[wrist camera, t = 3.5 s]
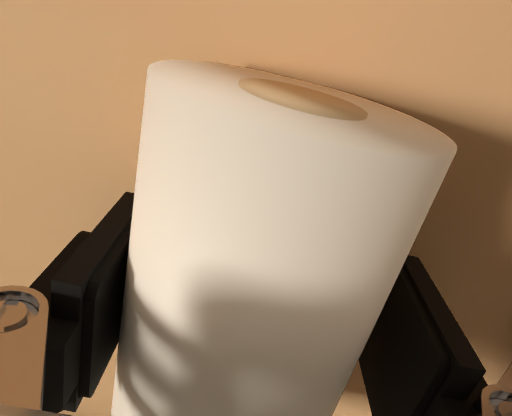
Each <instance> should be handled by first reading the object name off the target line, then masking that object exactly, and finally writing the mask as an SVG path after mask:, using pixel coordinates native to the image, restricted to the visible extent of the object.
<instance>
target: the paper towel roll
mask: <svg viewBox="0 0 512 416" xmlns="http://www.w3.org/2000/svg"><path fill="white" fill-rule="evenodd" d="M457 148H458V147H457V145H456V143H455V142H454V141H453V140H452V139H451V138H450V137H448V136H447V135H446V134H444V133H443V132H441V131H439V130H438V129H436V128H434V127H432V126H430V125H429V124H427V123H425V122H422V121H420V120H418V119H416V118H414V117H412V116H409V115H407V114H405V113H402V112H400V111H397V110H395V109H392V108H390V107H387V106H384V105H382V104H379V103H376V102H373V101H370V100H368V99H365V98H362V97H359V96H356V95H353V94H349V93H346V92H343V91H340V90H336V89H333V88H330V87H326V86H322V85H318V84H314V83H310V82H306V81H302V80H298V79H294V78H290V77H286V76H282V75H278V74H274V73H270V72H266V71H261V70H256V69H251V68H246V67H240V66H234V65H228V64H222V63H214V62H206V61H195V60H163V61H157V62H154V63H152V64H150V65H149V67H148V70H147V80H146V89H145V99H144V108H143V117H142V127H141V136H140V146H139V155H138V165H137V174H136V184H135V193H134V203H133V212H132V221H131V231H130V240H129V250H128V259H127V269H126V278H125V288H124V297H123V307H122V316H121V326H120V335H119V344H118V354H117V363H116V373H115V382H114V392H113V401H112V411H111V416H332V414H333V412H334V410H335V408H336V406H337V404H338V402H339V400H340V398H341V395H342V393H343V391H344V389H345V387H346V385H347V383H348V381H349V379H350V376H351V374H352V372H353V370H354V368H355V366H356V364H357V362H358V359H359V357H360V355H361V353H362V351H363V349H364V347H365V345H366V343H367V340H368V338H369V336H370V334H371V332H372V330H373V328H374V326H375V324H376V321H377V319H378V317H379V315H380V313H381V311H382V309H383V307H384V305H385V302H386V300H387V298H388V296H389V294H390V292H391V290H392V288H393V285H394V283H395V281H396V279H397V277H398V275H399V273H400V271H401V269H402V266H403V264H404V262H405V260H406V258H407V256H408V254H409V252H410V250H411V247H412V245H413V243H414V241H415V239H416V237H417V235H418V233H419V231H420V228H421V226H422V224H423V222H424V220H425V218H426V216H427V214H428V211H429V209H430V207H431V205H432V203H433V201H434V199H435V197H436V195H437V192H438V190H439V188H440V186H441V184H442V182H443V180H444V178H445V176H446V173H447V171H448V169H449V167H450V165H451V163H452V161H453V159H454V156H455V154H456V152H457Z"/></svg>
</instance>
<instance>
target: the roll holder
mask: <svg viewBox="0 0 512 416" xmlns="http://www.w3.org/2000/svg"><path fill="white" fill-rule="evenodd" d="M497 385H501V386H505V387H508V388H510V389H512V364H511V365H510V367H509V368H508V370H507V371H506V372H505V374H504V375H503V377H502V378H501V379H500V381H499V382H498V384H497Z"/></svg>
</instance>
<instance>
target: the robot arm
mask: <svg viewBox="0 0 512 416" xmlns="http://www.w3.org/2000/svg"><path fill="white" fill-rule="evenodd" d="M133 203H134V193H130V192H126V193H124V195H123V196H122V197H121V198H120V199H119V201H118V202H117V203H116V204H115V205H114V206H113V208H112V209H111V210H110V211H109V212H108V213H107V215H106V216H105V217H104V218H103V219H102V220H101V222H100V223H99V224H98V225H97V226H96V227H95V229H94V230H93V231H92V232H86V231H81V232H79V233H78V234H77V235H76V236H75V237H74V238H73V239H72V241H71V242H70V243H69V244H68V245H67V246H66V247H65V248H64V249H63V250H62V252H61V253H60V254H59V255H58V256H57V257H56V258H55V259H54V260H53V261H52V263H51V264H50V265H49V266H48V267H47V268H46V269H45V270H44V271H43V272H42V274H41V275H40V276H39V277H38V278H37V279H36V280H35V281H34V282H33V283H32V285H31V286H30V287H25V286H3V287H0V416H71V415H65V414H59V412H61V411H63V410H67V411H72V412H76V410H77V408H78V406H79V404H80V402H81V400H82V398H83V397H87V398H91V397H92V395H93V393H94V392H95V389H96V387H97V385H98V383H99V381H100V379H101V377H102V375H103V373H104V371H105V369H106V367H107V365H108V362H109V360H110V358H111V356H112V354H113V352H114V350H115V348H116V346H117V344H118V342H119V335H120V326H121V316H122V307H123V297H124V288H125V278H126V269H127V259H128V250H129V240H130V231H131V221H132V212H133ZM359 363H360V367H361V371H362V376H363V380H364V384H365V388H366V392H367V396H368V400H369V404H370V408H371V412H372V416H512V389H510V388H508V387H505V386H501V385H495V384H494V385H487V383H486V381H485V380H484V378H483V375H484V374H485V372H486V370H485V368H484V366H483V365H482V363H481V361H480V360H479V358H478V356H477V355H476V353H475V351H474V350H473V348H472V346H471V345H470V343H469V341H468V340H467V338H466V336H465V335H464V333H463V331H462V330H461V328H460V326H459V325H458V323H457V321H456V320H455V318H454V316H453V315H452V313H451V311H450V310H449V308H448V306H447V305H446V303H445V301H444V300H443V298H442V296H441V294H440V293H439V291H438V289H437V288H436V286H435V284H434V283H433V281H432V279H431V278H430V276H429V274H428V273H427V271H426V269H425V268H424V266H423V264H422V263H421V261H420V259H419V258H418V257H414V256H410V255H408V256H407V258H406V260H405V262H404V264H403V266H402V269H401V271H400V273H399V275H398V277H397V279H396V281H395V283H394V285H393V288H392V290H391V292H390V294H389V296H388V298H387V300H386V302H385V305H384V307H383V309H382V311H381V313H380V315H379V317H378V319H377V321H376V324H375V326H374V328H373V330H372V332H371V334H370V336H369V338H368V340H367V343H366V345H365V347H364V349H363V351H362V353H361V355H360V357H359Z"/></svg>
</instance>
